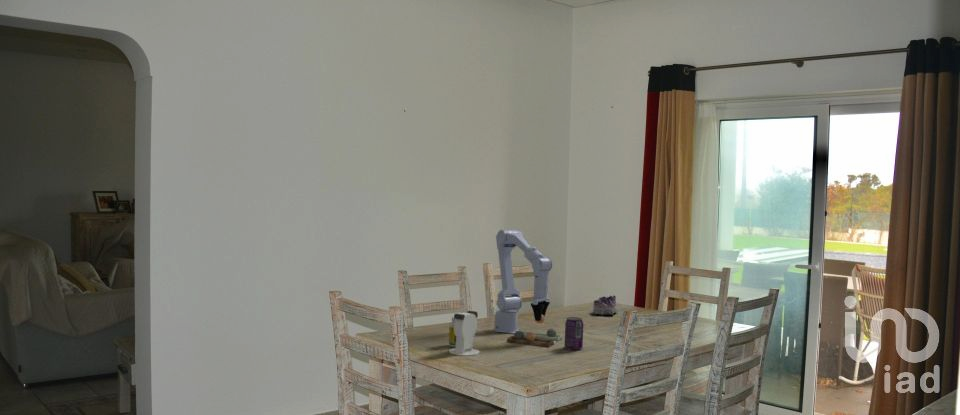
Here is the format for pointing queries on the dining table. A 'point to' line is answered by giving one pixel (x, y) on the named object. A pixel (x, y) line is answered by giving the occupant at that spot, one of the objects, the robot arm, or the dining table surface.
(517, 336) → the grey ball
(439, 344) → the dining table surface
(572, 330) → the beverage can
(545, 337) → the sage trough
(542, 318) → the terracotta ball
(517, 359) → the dining table surface
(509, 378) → the dining table surface
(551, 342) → the walnut trough
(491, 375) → the dining table surface
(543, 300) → the robot arm
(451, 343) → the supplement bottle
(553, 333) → the grey ball
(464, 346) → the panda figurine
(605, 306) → the geode
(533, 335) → the terracotta ball
